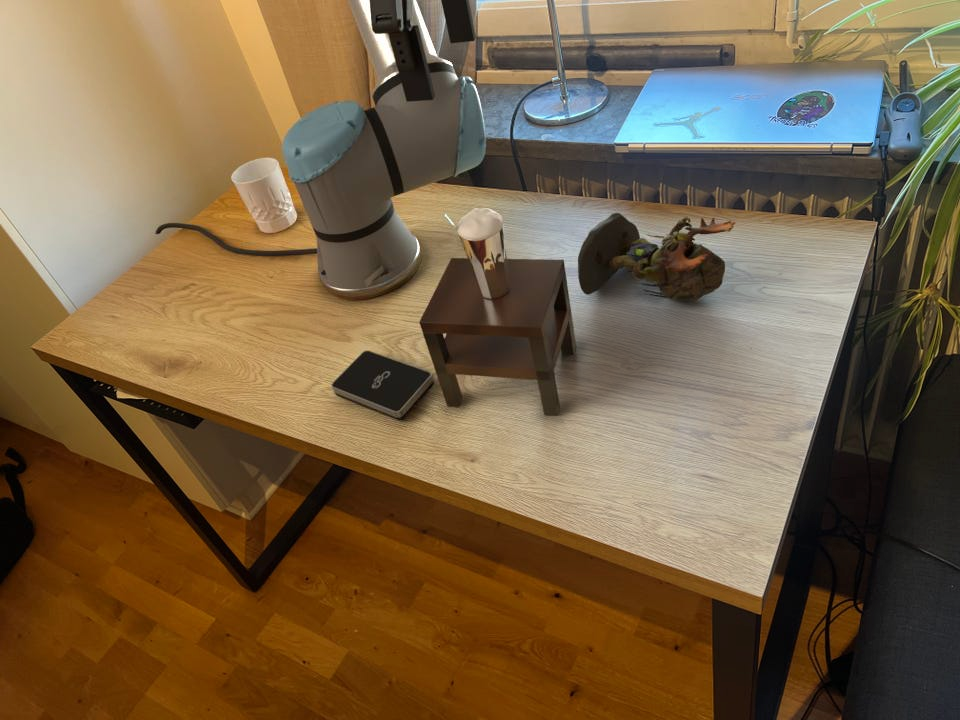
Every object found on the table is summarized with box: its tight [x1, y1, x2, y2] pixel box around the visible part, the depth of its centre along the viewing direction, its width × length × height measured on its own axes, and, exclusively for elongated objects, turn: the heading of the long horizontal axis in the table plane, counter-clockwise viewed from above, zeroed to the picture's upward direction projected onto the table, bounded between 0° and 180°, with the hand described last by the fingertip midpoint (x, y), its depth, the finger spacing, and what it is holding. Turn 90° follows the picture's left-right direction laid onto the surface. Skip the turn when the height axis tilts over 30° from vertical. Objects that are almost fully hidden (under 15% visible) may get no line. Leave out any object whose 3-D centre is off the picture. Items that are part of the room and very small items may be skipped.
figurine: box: [577, 212, 736, 302], centre depth 87 cm, size 14×10×18 cm
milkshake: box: [444, 207, 510, 299], centre depth 71 cm, size 4×5×10 cm
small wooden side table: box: [418, 257, 577, 417], centre depth 79 cm, size 13×11×13 cm
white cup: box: [230, 157, 298, 234], centre depth 118 cm, size 8×8×10 cm
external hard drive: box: [330, 349, 435, 422], centre depth 85 cm, size 7×11×2 cm, turn 56°
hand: (443, 68), depth 72 cm, fingers open, 13 cm apart
